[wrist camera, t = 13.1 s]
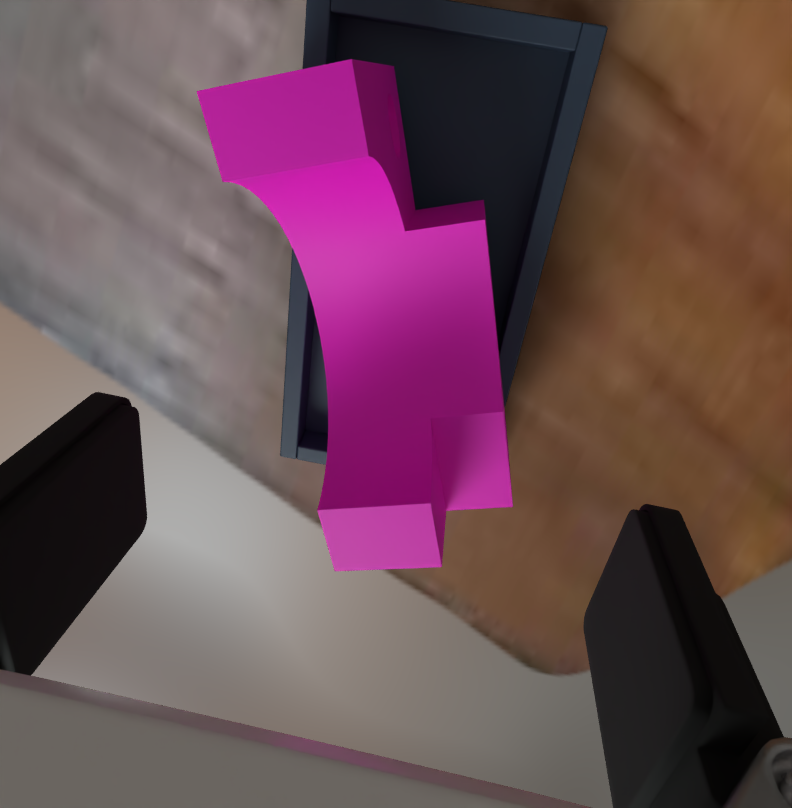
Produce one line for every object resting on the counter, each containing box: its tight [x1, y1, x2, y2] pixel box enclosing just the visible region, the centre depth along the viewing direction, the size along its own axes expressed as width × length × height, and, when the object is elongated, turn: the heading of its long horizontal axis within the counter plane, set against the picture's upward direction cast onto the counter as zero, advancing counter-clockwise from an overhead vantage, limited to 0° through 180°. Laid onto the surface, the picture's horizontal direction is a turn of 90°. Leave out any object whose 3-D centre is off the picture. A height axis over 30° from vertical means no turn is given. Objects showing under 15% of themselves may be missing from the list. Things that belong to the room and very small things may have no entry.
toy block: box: [197, 59, 513, 571], centre depth 20 cm, size 15×6×8 cm, turn 10°
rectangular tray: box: [280, 0, 608, 465], centre depth 24 cm, size 10×19×2 cm, turn 172°
